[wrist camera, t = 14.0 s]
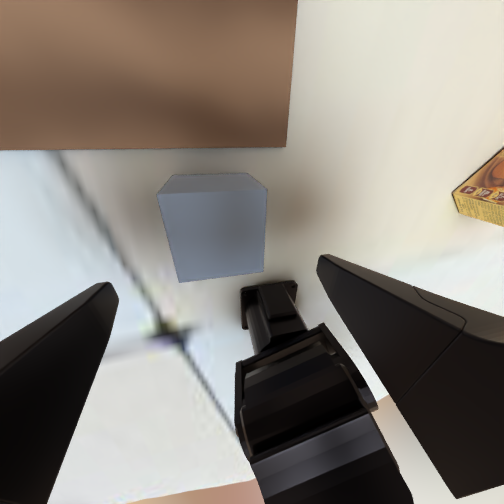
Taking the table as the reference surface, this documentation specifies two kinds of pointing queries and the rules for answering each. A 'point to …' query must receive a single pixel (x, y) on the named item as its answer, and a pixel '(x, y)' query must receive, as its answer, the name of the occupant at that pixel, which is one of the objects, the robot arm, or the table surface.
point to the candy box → (484, 193)
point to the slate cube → (214, 224)
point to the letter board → (145, 73)
